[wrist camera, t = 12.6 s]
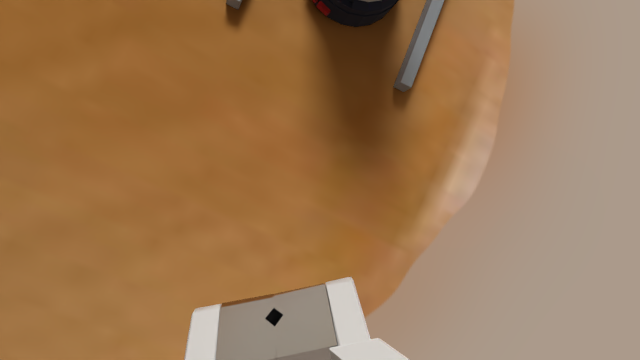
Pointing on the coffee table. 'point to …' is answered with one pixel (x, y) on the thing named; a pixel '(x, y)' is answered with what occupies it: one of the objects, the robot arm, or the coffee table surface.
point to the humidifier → (355, 10)
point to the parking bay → (416, 44)
